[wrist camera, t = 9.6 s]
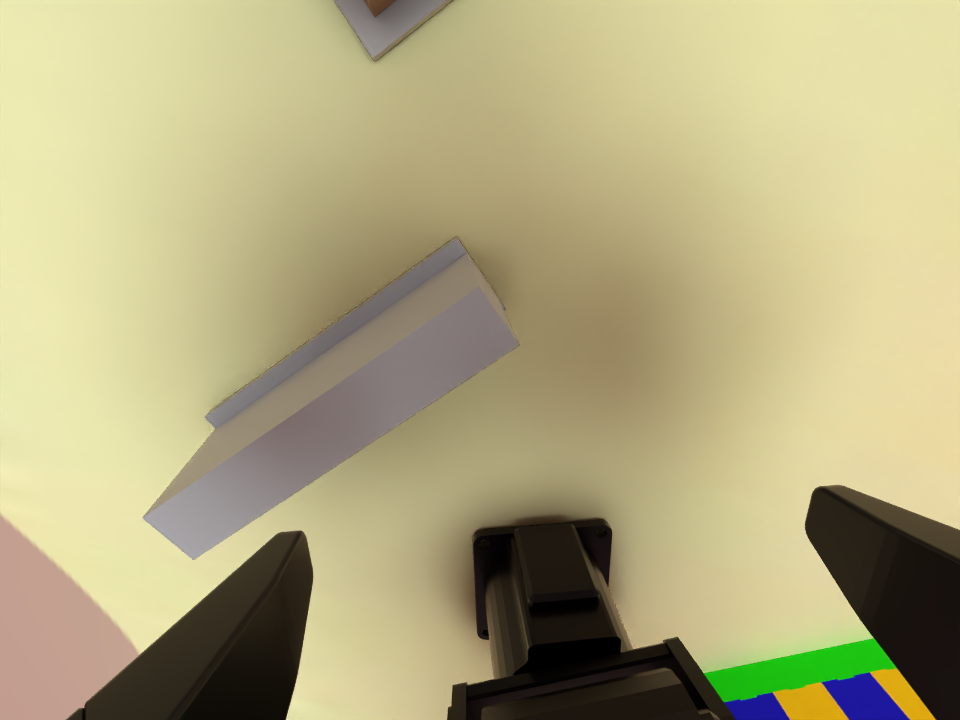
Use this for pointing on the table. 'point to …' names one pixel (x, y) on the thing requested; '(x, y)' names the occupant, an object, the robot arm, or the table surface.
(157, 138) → the table surface
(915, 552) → the robot arm
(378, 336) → the screen
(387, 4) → the brown paneled cube
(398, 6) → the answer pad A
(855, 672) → the toy house
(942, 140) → the table surface
